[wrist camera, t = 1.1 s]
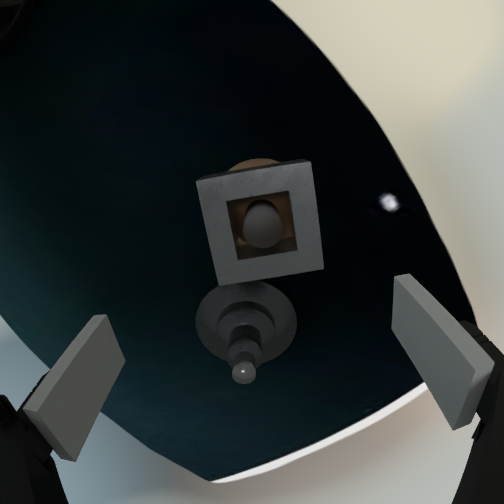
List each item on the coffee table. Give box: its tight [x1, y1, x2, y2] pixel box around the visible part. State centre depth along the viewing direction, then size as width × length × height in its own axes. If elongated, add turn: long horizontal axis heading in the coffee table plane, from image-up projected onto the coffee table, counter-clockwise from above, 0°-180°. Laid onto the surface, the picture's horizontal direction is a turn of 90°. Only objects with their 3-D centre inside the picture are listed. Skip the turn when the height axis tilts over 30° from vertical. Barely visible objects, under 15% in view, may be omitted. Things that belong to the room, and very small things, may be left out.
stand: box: [229, 159, 292, 248], centre depth 29 cm, size 10×10×9 cm
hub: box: [196, 280, 297, 384], centre depth 33 cm, size 12×12×10 cm
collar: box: [196, 159, 324, 286], centre depth 27 cm, size 9×9×4 cm
